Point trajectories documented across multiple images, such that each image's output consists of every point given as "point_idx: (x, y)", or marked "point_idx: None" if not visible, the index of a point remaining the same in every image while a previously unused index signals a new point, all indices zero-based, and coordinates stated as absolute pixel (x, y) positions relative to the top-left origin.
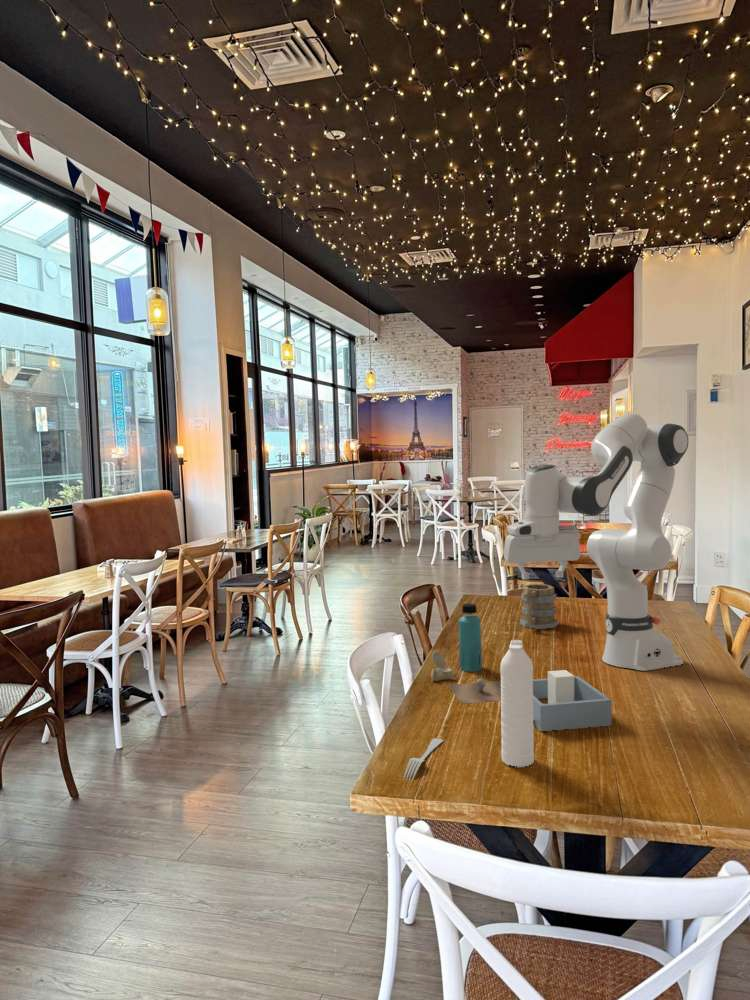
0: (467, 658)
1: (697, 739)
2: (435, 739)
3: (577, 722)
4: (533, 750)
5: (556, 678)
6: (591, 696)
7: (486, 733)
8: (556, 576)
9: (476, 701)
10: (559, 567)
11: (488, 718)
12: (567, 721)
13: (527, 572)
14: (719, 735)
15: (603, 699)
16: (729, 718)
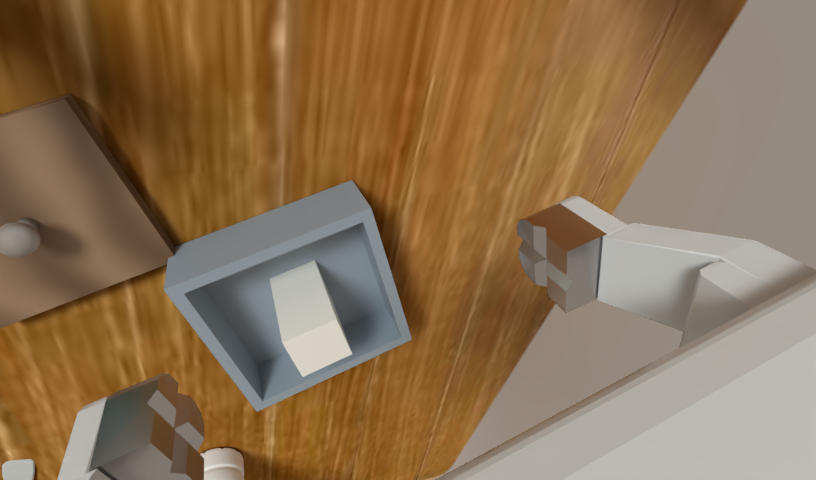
0: None
1: (503, 315)
2: (11, 471)
3: None
4: (243, 475)
5: (304, 374)
6: (380, 280)
7: None
8: (524, 241)
9: (44, 302)
10: (646, 249)
11: (112, 343)
12: None
13: (170, 469)
14: (539, 294)
15: (396, 342)
16: None
